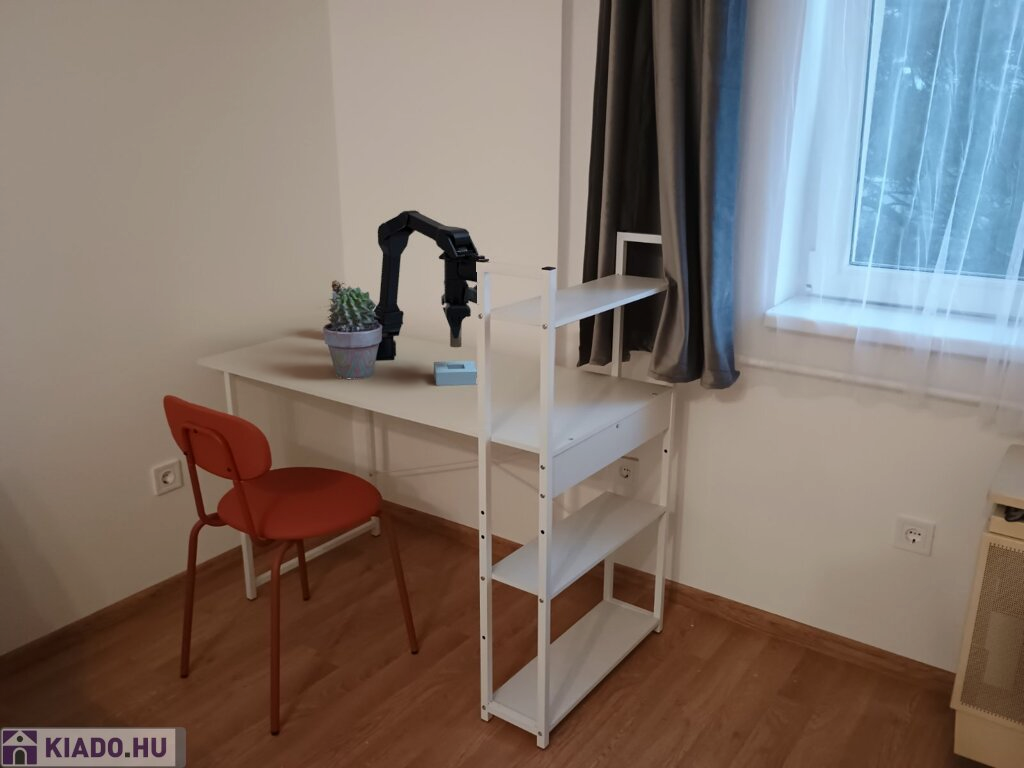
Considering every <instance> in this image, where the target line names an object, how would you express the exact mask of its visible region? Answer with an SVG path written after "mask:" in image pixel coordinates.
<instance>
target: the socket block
mask: <svg viewBox="0 0 1024 768" xmlns="http://www.w3.org/2000/svg"><path fill="white" fill-rule="evenodd" d="M476 367H477V364H476V362H475V361H474V360H459V361H458V360H457V361H456V360H454V361H451V360H450V361H433V377H434V381H435V385H436V386H437V387H438V386H466V385H467V386H469V385H477V384H476V378H477V369H478V367H477V368H476Z"/></svg>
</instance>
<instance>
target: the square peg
mask: <svg viewBox="0 0 1024 768" xmlns="http://www.w3.org/2000/svg"><path fill="white" fill-rule="evenodd" d="M462 324H463V323H462ZM462 324H461V328H460V333H459V337H458V338H457V339H455V338H454V337H453V334H452V332H451V329H450V328H449V341H450V342H449V346H450V347H451V348H462V344H463V343H462V338H463V337H462V335H463V334H462V328H463V327H462Z"/></svg>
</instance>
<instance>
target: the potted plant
mask: <svg viewBox="0 0 1024 768" xmlns="http://www.w3.org/2000/svg"><path fill="white" fill-rule="evenodd" d="M342 285H345V282H341V283H340V281H339V280H333V281H332V282H331V287H332V293H333V292H335V293H336V294H337V296H336V299H333V297H331V299H330V298H329V299H328V300H330V301H329V302H330V305H329V307H330V308H329V309H328V310H327V311H328V312H330V313H328V314H329V316H328V317H326V319H327V321H329V322H330V323H327V324H325V325H324V326H323V327H322V330H323V338H324V344H326V345H327V349H328V351H329V355H330V358H331V359H330V360H331V362H332V367H333V368H334V372H335V373H334V374H335V376H336V375H337V376H338V377H337V376H336V377H337V378H339V377H341V378H340V379H343V378H351V379H350V380H357V379H356V378H361V379H366V378H365V377H367V378H369V376H370V377H371V376H373V375H374V370H375V365H376V361H377V360H376V356H377V351H378V346H379V343H380V342H381V341H382V327H383V326H381V324H379V323H378V320H375V319H374V317H378V316H376V314H375V312H374V309H375V308H376V307H378V306H377V304H378V302H376V301H373V300H372V299H371V298H370V292H369V291H366V292H363V291H362V290H361V287H359V286H358V287H355V288H356V290H355V289H353V287H351V286H350V285H348V287H347V288H346V287H343V286H342ZM342 289H343V291H342ZM331 302H332V303H331ZM333 303H334V304H333ZM376 303H377V304H376ZM382 304H383V303H382ZM325 307H328V305H327V306H325ZM319 308H321V306H320V307H318V309H319ZM380 308H381V307H380ZM375 310H376V309H375ZM327 311H326V312H327ZM379 318H380V317H379ZM384 323H385V322H384ZM354 378H355V379H354Z"/></svg>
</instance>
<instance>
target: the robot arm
mask: <svg viewBox="0 0 1024 768" xmlns="http://www.w3.org/2000/svg"><path fill="white" fill-rule="evenodd" d="M415 232H418V233H419V234H421V235H424V236H425V237H428V238H429V239H432V240H433V241H434V242H435V244H436V246H437V247H438V248H439V249H441V250H442V251H443V252H442V253H441V254H440V255H439V256H438V259H439V260H443V261H444V262H443V263H444V265H443V268H444V271H443V272H444V278H443V279H444V280H443V286H444V291H443V292H444V293H443V294H442V295H441V298H440V299H441V300H440V301H441V302H440V304H441V306H444V307H442V310H443V312H444V316H445V318H446V321H447V323H448V325H449V330H450V329H451V332H452V334H453V337H454V338H455V339H457V338H458V337H459V333H460V328H461V324H463V320H464V319H466V318H469V317H471V316H472V315H471V314H472V313H471V312H472V310H471V307H470V306H469V302H471V303H473V304H476V305H478V304H477V285H478V284H475V285H474V286H473V287H471V286H469V284H468V282H472V283H478V282H477V272H476V261H477V260H479V259H485V260H486V256H485V255H482V254H481V255H479V251H478V250H477V249H478V248H476V245H475V244H474V241H473V239H472V237H471V235H470V232H469V231H468V230H467V229H466V228H462V227H458V226H450V225H445V224H443V223H440V222H438V221H437V220H435V219H432V218H430V217H428V216H426V215H425V214H422V213H420V212H419V210H415V209H414V210H413V209H411V210H403V211H402V212H400V213H399V214H398V215H396V216H395V217H392V218H390V219H389V220H387V221H386V222H385V221H384V222H382V223H381V224H380V225H379V226H378V228H377V244H378V246H379V248H380V250H381V252H382V261H381V272H380V273H381V276H380V289H379V302H377V304H376V306H378V307H376V306H375V308H374V309H373V311H374V312H375V314H376V316H378V317H374V319H375V320H378V323H379V324H381V326H383V327H382V341H381V342H380V343H379V346H378V351H377V356H376V361H378V360H379V361H381V360H382V361H383V360H385V361H386V360H388V361H389V360H390V361H391V360H395V357H396V356H397V341H396V340H395V339H394V337H399V336H400V333H401V328H402V326H403V325H404V321H403V320H404V311H403V310H401V309H400V307H399V306H398V297H399V296H398V294H399V282H400V272H401V258H402V254H403V252H404V251H405V249H407V247H408V244H409V238H410V236H411V235H412V234H414V233H415ZM382 303H383V304H382ZM380 307H381V308H380ZM375 309H376V310H375ZM379 317H380V318H379ZM384 322H385V323H384Z"/></svg>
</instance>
